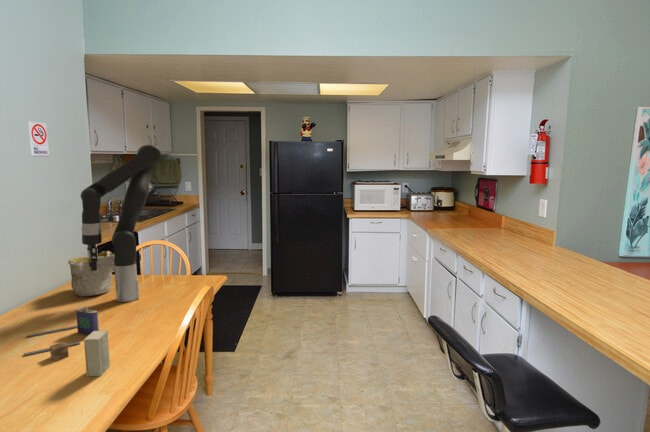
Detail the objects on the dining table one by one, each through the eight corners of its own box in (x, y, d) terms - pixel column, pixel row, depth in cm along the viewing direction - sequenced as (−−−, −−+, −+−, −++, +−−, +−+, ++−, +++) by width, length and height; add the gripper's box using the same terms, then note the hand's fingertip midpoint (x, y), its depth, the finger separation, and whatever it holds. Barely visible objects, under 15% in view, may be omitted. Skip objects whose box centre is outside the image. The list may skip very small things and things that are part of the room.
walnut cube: (64, 352, 132) (63, 341, 131) (68, 356, 129) (67, 345, 129) (50, 357, 129) (49, 345, 128) (54, 361, 126) (53, 349, 126)
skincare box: (96, 366, 123) (93, 330, 121) (110, 366, 123) (108, 330, 122) (85, 377, 117) (82, 339, 115) (101, 376, 117) (98, 338, 116)
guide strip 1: (77, 326, 153) (77, 325, 153) (77, 327, 152) (77, 326, 152) (27, 336, 144) (26, 335, 144) (26, 337, 143) (26, 336, 143)
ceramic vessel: (42, 278, 188) (75, 235, 197) (88, 298, 204) (116, 257, 213) (57, 287, 173) (92, 240, 183) (105, 308, 189) (135, 263, 199)
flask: (100, 333, 147) (98, 306, 146) (94, 336, 145) (92, 308, 143) (81, 330, 150) (79, 303, 148) (75, 333, 147) (72, 306, 146)
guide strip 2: (79, 342, 139) (79, 341, 139) (79, 344, 138) (79, 342, 138) (23, 354, 130) (23, 353, 130) (23, 356, 129) (23, 355, 129)
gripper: (103, 234, 168) (104, 271, 170) (99, 230, 180) (100, 264, 182) (83, 236, 164) (84, 273, 166) (80, 231, 175) (81, 266, 177)
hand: (92, 268), depth 174 cm, fingers open, 8 cm apart
